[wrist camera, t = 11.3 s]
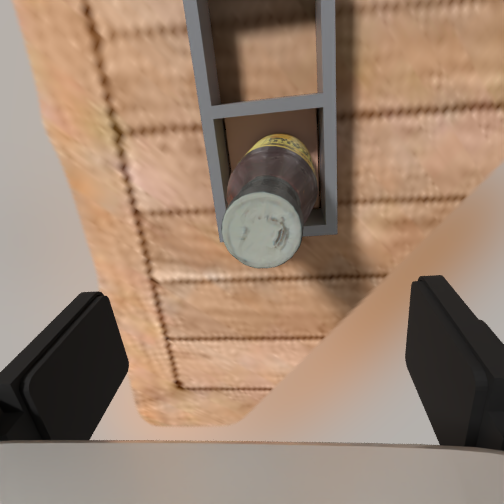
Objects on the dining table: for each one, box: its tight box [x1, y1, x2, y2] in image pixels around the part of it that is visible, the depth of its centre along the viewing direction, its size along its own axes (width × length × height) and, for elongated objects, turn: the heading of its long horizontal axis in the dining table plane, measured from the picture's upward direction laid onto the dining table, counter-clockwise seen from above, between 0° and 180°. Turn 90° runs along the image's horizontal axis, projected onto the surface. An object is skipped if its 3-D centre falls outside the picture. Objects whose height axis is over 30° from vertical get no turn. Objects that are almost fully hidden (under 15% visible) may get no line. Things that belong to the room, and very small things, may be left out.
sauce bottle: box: [221, 133, 318, 268], centre depth 26 cm, size 7×6×20 cm
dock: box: [183, 0, 337, 242], centre depth 31 cm, size 11×23×5 cm, turn 6°
